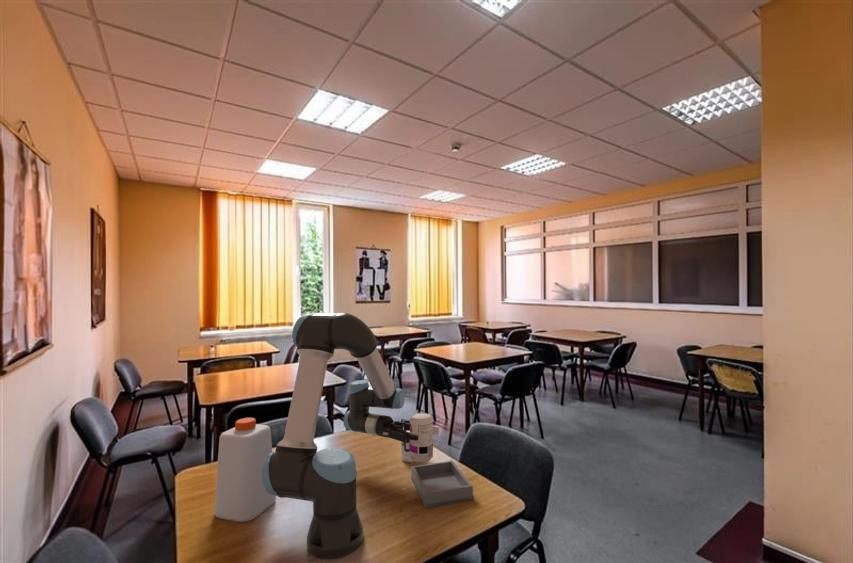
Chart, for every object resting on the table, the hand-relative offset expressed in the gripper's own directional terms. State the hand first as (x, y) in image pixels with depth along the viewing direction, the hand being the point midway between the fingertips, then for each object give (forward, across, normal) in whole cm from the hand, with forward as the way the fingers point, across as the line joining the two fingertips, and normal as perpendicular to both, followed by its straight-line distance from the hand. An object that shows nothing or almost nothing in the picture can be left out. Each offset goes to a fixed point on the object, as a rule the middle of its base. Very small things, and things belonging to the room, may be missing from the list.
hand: (433, 434), depth 136 cm
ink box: (-19, -17, -18) cm, 31 cm away
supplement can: (-5, 0, -9) cm, 10 cm away
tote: (+3, +1, -18) cm, 18 cm away
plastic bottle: (-48, +39, -18) cm, 64 cm away
